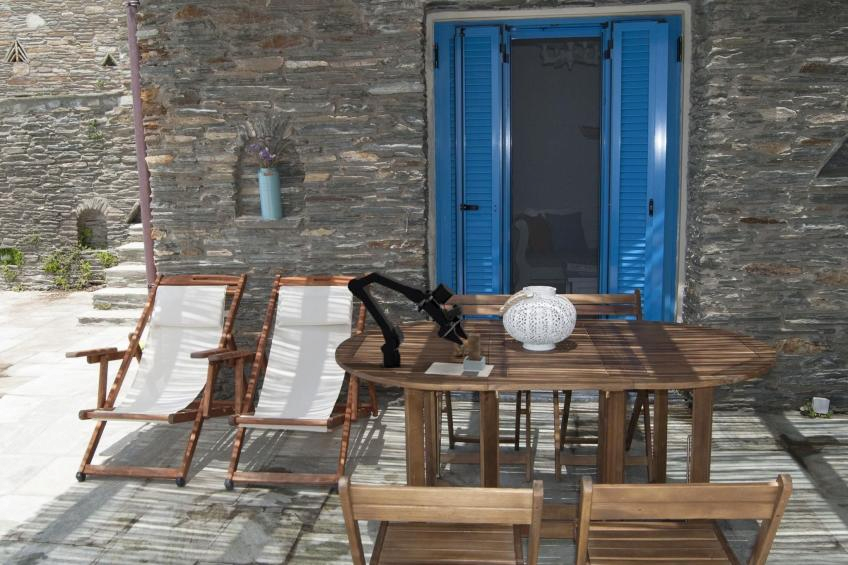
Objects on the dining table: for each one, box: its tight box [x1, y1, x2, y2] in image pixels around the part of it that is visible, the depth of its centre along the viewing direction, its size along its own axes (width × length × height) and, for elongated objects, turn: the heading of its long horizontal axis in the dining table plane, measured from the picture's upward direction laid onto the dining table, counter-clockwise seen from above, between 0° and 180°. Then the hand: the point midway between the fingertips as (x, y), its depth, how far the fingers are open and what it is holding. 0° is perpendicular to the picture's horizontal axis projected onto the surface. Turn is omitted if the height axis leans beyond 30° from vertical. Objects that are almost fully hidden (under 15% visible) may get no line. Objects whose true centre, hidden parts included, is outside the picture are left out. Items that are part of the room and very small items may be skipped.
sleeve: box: [462, 355, 486, 371], centre depth 302 cm, size 7×7×4 cm
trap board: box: [424, 361, 495, 378], centre depth 300 cm, size 24×16×1 cm, turn 76°
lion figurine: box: [453, 338, 468, 357], centre depth 321 cm, size 15×5×9 cm, turn 151°
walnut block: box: [467, 332, 481, 361], centre depth 301 cm, size 4×4×13 cm
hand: (464, 341), depth 301 cm, fingers open, 9 cm apart
